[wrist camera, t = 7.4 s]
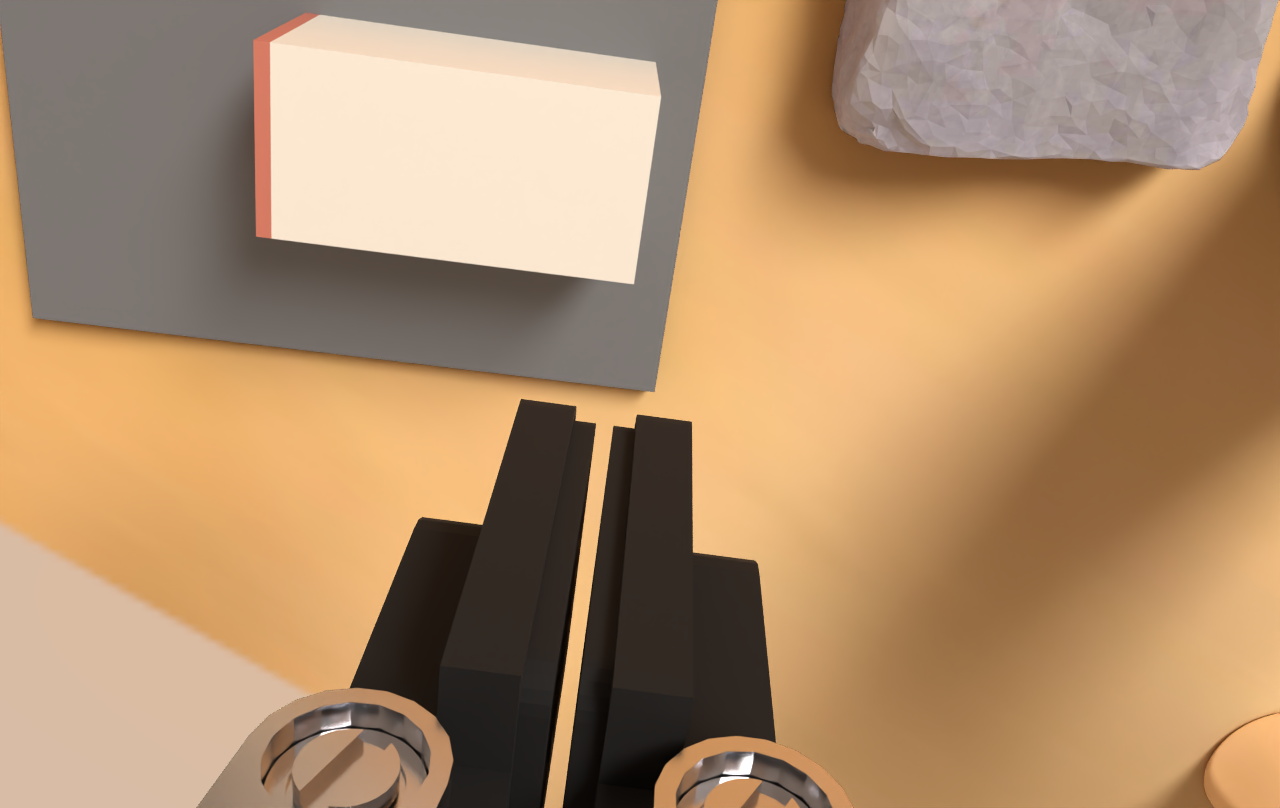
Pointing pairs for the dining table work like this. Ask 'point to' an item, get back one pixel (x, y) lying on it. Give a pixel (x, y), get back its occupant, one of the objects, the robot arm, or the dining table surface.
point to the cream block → (452, 147)
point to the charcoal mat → (295, 271)
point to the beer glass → (1246, 767)
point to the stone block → (1050, 77)
